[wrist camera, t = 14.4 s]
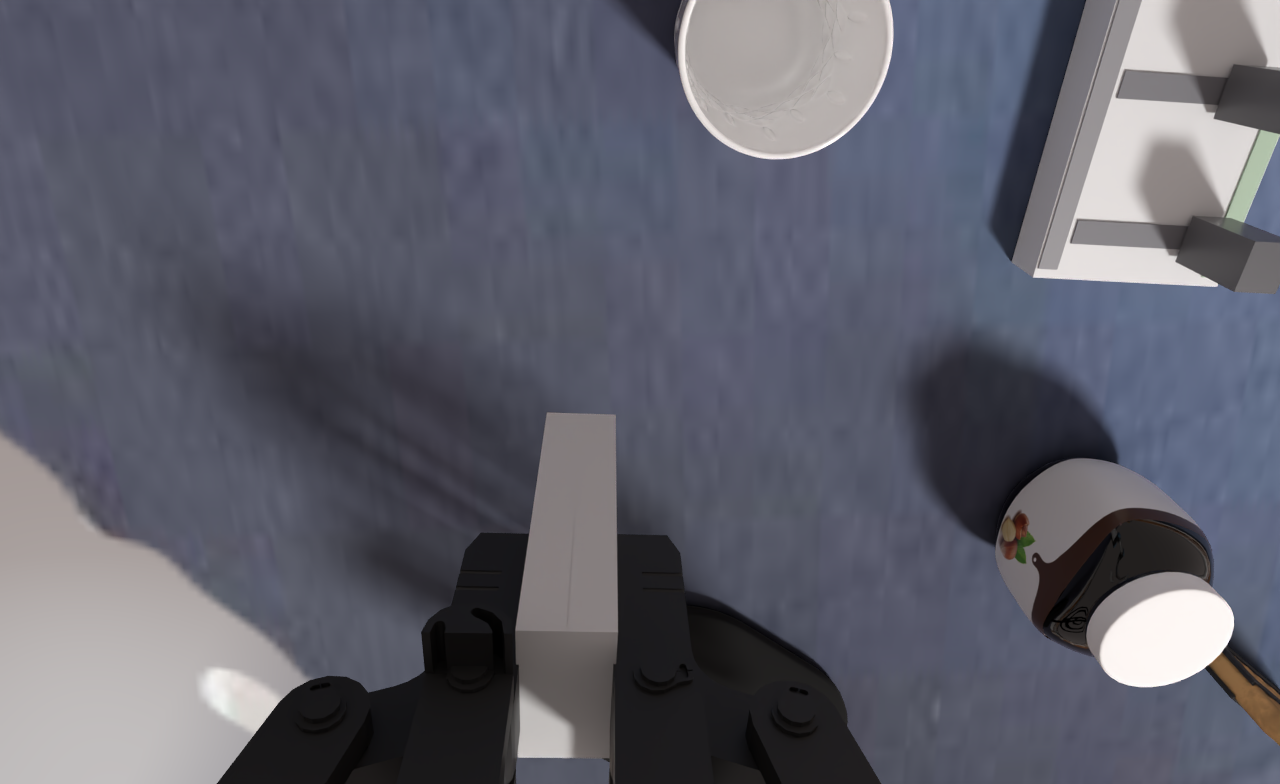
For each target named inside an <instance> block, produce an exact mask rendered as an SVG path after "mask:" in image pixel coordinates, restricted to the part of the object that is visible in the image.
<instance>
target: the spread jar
mask: <svg viewBox="0 0 1280 784" xmlns="http://www.w3.org/2000/svg"><path fill="white" fill-rule="evenodd" d="M995 557H996V562H997V566H998V569H999V571H1000V574H1001V576H1002V578H1003V580H1004V582H1005V584H1006V585H1007V587H1008V589H1009V590H1010V592H1011V594H1012V595H1013V597H1014V598H1015V600H1016V601H1017V603H1018V604H1019V606H1020V607H1021V609H1022V610H1023V612H1024V613H1025V615H1026V616H1027V617H1028V619H1029V620H1030V621H1031V622H1032V623H1033V624H1034V626H1035V627H1036V628H1037V629H1038V630H1039V631H1040V632H1041V633H1042V634H1043V635H1044V636H1046V637H1047V638H1049V639H1050V640H1052V641H1054V642H1056V643H1058V644H1060V645H1062V646H1064V647H1066V648H1068V649H1070V650H1073V651H1075V652H1078V653H1081V654H1084V655H1088V656H1091V657H1095V658H1096V660H1097V661H1098V662H1099V664H1100V665H1101V667H1102V668H1103V670H1104V671H1105V672H1106V673H1107V674H1108V675H1109V676H1110V677H1111V678H1113V679H1114V680H1116V681H1118V682H1120V683H1123V684H1126V685H1130V686H1136V687H1155V686H1162V685H1167V684H1171V683H1174V682H1178V681H1180V680H1183V679H1185V678H1187V677H1190V676H1192V675H1193V674H1195V673H1197V672H1199V671H1201V670H1202V669H1203V668H1205V667H1206V666H1207V665H1209V664H1210V663H1211V662H1213V661H1214V660H1215V659H1216V658H1217V657H1218V656H1219V655H1220V654H1221V652H1222V651H1223V650H1224V648H1225V647H1226V646H1227V644H1228V642H1229V640H1230V638H1231V636H1232V632H1233V628H1234V616H1233V613H1232V610H1231V608H1230V606H1229V605H1228V604H1227V603H1226V601H1225V600H1224V599H1223V598H1222V597H1221V596H1220V595H1219V594H1218V593H1217V592H1216V591H1215V590H1214V589H1213V588H1212V586H1213V579H1214V559H1213V554H1212V549H1211V546H1210V544H1209V542H1208V540H1207V538H1206V536H1205V534H1204V533H1203V531H1202V530H1201V529H1200V527H1199V526H1198V525H1197V524H1196V522H1195V521H1194V520H1193V519H1192V518H1191V517H1190V516H1189V515H1188V514H1187V513H1186V512H1185V511H1184V510H1183V509H1182V508H1181V507H1180V506H1179V505H1177V504H1176V503H1175V502H1174V501H1173V500H1172V499H1171V498H1170V497H1169V496H1168V495H1167V494H1165V493H1164V492H1163V491H1162V490H1161V489H1160V488H1158V487H1157V486H1156V485H1155V484H1153V483H1152V482H1151V481H1149V480H1148V479H1146V478H1145V477H1143V476H1141V475H1140V474H1138V473H1136V472H1134V471H1132V470H1130V469H1128V468H1126V467H1123V466H1121V465H1118V464H1115V463H1112V462H1108V461H1104V460H1098V459H1092V458H1078V457H1076V458H1066V459H1061V460H1057V461H1054V462H1051V463H1049V464H1046V465H1044V466H1042V467H1041V468H1039V469H1037V470H1036V471H1034V472H1032V473H1031V474H1030V475H1028V476H1027V477H1026V478H1024V479H1023V480H1022V481H1021V482H1020V483H1019V484H1018V485H1017V486H1016V487H1015V488H1014V489H1013V490H1012V492H1011V493H1010V495H1009V496H1008V498H1007V500H1006V501H1005V503H1004V506H1003V508H1002V511H1001V513H1000V517H999V520H998V525H997V531H996V537H995Z"/></svg>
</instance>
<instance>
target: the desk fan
mask: <svg viewBox="0 0 1280 784" xmlns="http://www.w3.org/2000/svg"><path fill="white" fill-rule="evenodd" d="M686 607H687V616H688V624H689V632H690V640H691V649H692V653H693V657H694V660H695V661H696V663H697V665H698V666H699V668H700V669H701V670H702V671H703V672H704V673H705V674H706V675H707V676H708V677H709V678H711V679H712V680H714V681H715V682H717V683H718V684H720V685H723V686H725V687H728V688H730V689H733V690H737V691H740V692H744V693H747V694H750V695H754V694H755V693H756V692H757V691H758V690H759V689H760V688H761V687H762V686H764V685H767V684H770V683H772V682H775V681H796V682H800V683H803V684H807V685H810V686H811V687H813V688H815V689H816V690H818V691H820V692H821V693H823V694H824V695H825V696H826V697H827V698H828V699H829V700H830V701H831V703H832V704H833V705H834V706H835V707H836V709H837V711H838V712H839V714H840V716H841V717H842V719H843V721H844V722H845V724H846V726H847V722H848V721H847V712H846V708H845V704H844V701H843V699H842V696H841V694H840V692H839V690H838V689H837V687H836V686H835V684H834V683H833V682H832V681H831V680H830V679H829V678H828V677H827V676H826V675H825V674H824V673H823V672H821V671H820V670H818V669H817V668H816V667H814V666H813V665H811V664H809V663H808V662H806V661H805V660H803V659H801V658H800V657H798V656H796V655H795V654H793V653H792V652H790V651H788V650H787V649H785V648H783V647H782V646H780V645H779V644H777V643H775V642H774V641H772V640H770V639H769V638H767V637H766V636H764V635H762V634H761V633H759V632H757V631H756V630H754V629H753V628H751V627H749V626H748V625H746V624H744V623H743V622H741V621H739V620H737V619H735V618H733V617H731V616H729V615H726V614H724V613H721V612H718V611H715V610H712V609H707V608H702V607H696V606H686ZM602 759H604V760H606V761H608V762H610V758H602Z"/></svg>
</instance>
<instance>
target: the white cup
mask: <svg viewBox="0 0 1280 784" xmlns="http://www.w3.org/2000/svg"><path fill="white" fill-rule="evenodd" d="M674 46H675V57H676V63H677V66H678V70H679V74H680V77H681V81H682V85H683V88H684V91H685V94H686V97H687V99H688V101H689V104H690V105H691V107H692V109H693V111H694V113H695V114H696V116H697V117H698V119H699V120H700V121H701V123H702V124H703V125H704V126H705V127H706V128H707V130H708V131H709V132H710V133H711V134H713V135H714V136H715V137H716V138H717V139H718V140H720V141H721V142H723V143H724V144H726V145H727V146H729V147H731V148H732V149H734V150H737V151H739V152H741V153H744V154H747V155H750V156H754V157H758V158H765V159H788V158H795V157H800V156H804V155H807V154H810V153H813V152H815V151H818V150H820V149H822V148H824V147H826V146H828V145H830V144H831V143H833V142H835V141H836V140H838V139H839V138H840V137H842V136H843V135H844V134H846V133H847V132H848V131H849V130H850V129H851V128H852V127H853V126H854V125H855V124H856V123H857V122H858V121H859V120H860V119H861V118H862V117H863V115H864V114H865V113H866V112H867V110H868V109H869V107H870V106H871V105H872V103H873V101H874V100H875V98H876V96H877V94H878V93H879V91H880V88H881V86H882V84H883V82H884V79H885V76H886V74H887V70H888V67H889V63H890V59H891V54H892V46H893V18H892V11H891V6H890V2H889V0H682V1H681V3H680V7H679V11H678V14H677V18H676V23H675V33H674Z"/></svg>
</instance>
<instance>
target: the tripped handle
mask: <svg viewBox="0 0 1280 784" xmlns="http://www.w3.org/2000/svg"><path fill="white" fill-rule="evenodd" d="M1213 119H1217V120H1221V121H1225V122H1229V123H1234V124H1238V125H1242V126H1246V127H1251V128H1255V129H1259V130H1263V131H1268V132H1272V133H1276V134H1280V68H1278V67H1267V66H1252V65H1238V64H1233V67H1232V70H1231V73H1230V75H1229V78H1228V81H1227V83H1226V86H1225V89H1224V91H1223V94H1222V97H1221V99H1220V102H1219V105H1218V107H1217V110H1216V113H1215V115H1214V118H1213Z"/></svg>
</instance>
